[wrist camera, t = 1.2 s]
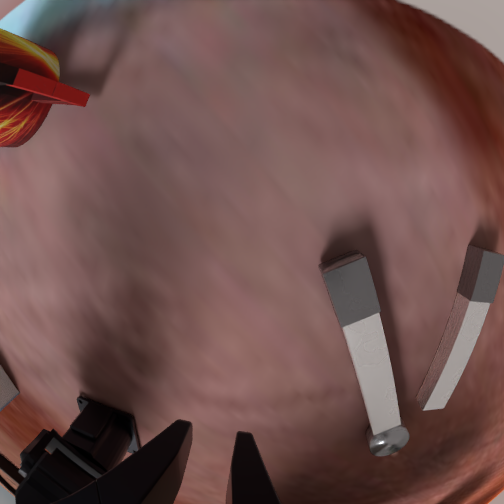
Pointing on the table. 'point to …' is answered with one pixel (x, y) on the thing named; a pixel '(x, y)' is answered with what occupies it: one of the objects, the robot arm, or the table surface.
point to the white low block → (6, 389)
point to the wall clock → (9, 475)
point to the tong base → (462, 326)
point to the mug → (29, 88)
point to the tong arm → (366, 348)
